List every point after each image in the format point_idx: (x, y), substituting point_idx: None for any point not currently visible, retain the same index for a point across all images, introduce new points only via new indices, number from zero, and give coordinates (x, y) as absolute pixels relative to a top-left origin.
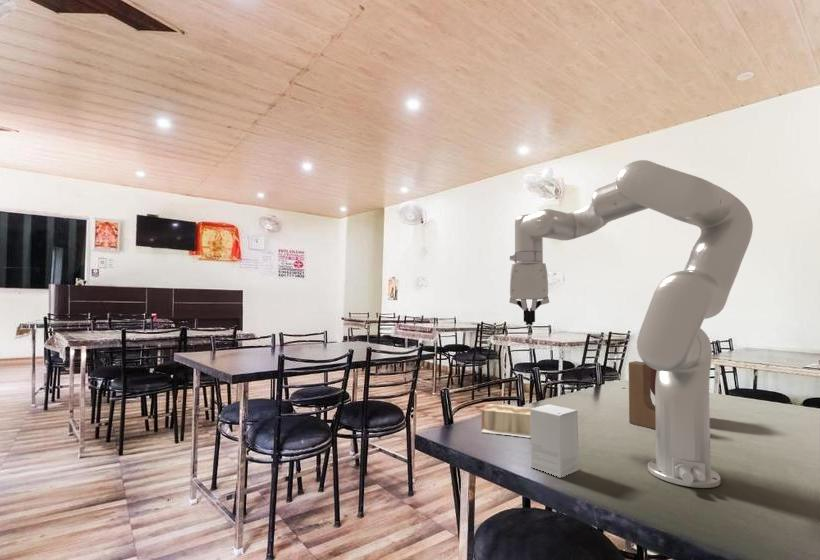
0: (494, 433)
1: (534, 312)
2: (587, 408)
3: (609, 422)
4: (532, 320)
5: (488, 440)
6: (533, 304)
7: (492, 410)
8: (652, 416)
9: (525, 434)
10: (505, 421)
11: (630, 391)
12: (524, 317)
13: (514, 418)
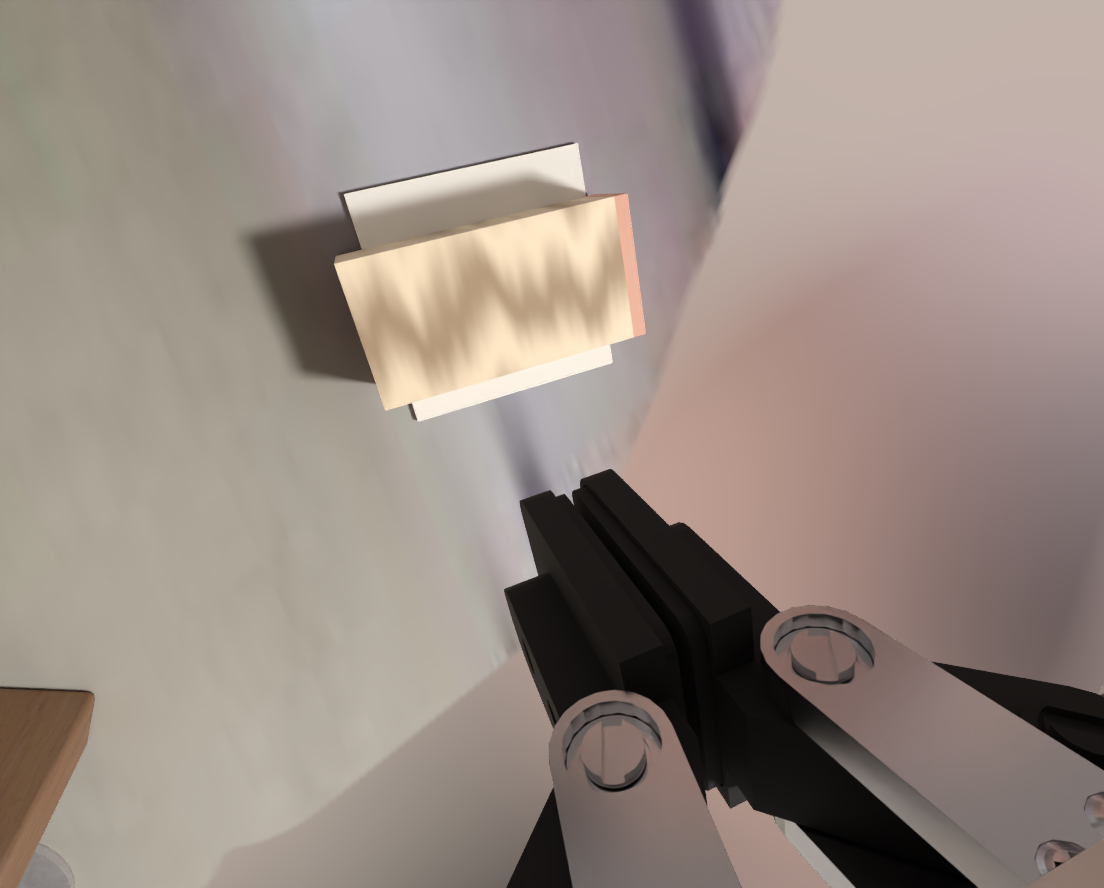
0: (522, 155)
1: (558, 705)
2: (337, 767)
3: (175, 649)
4: (545, 580)
5: (511, 44)
6: (664, 863)
7: (581, 218)
8: None
9: (401, 221)
10: (504, 219)
11: (13, 823)
12: (699, 555)
13: (466, 229)
